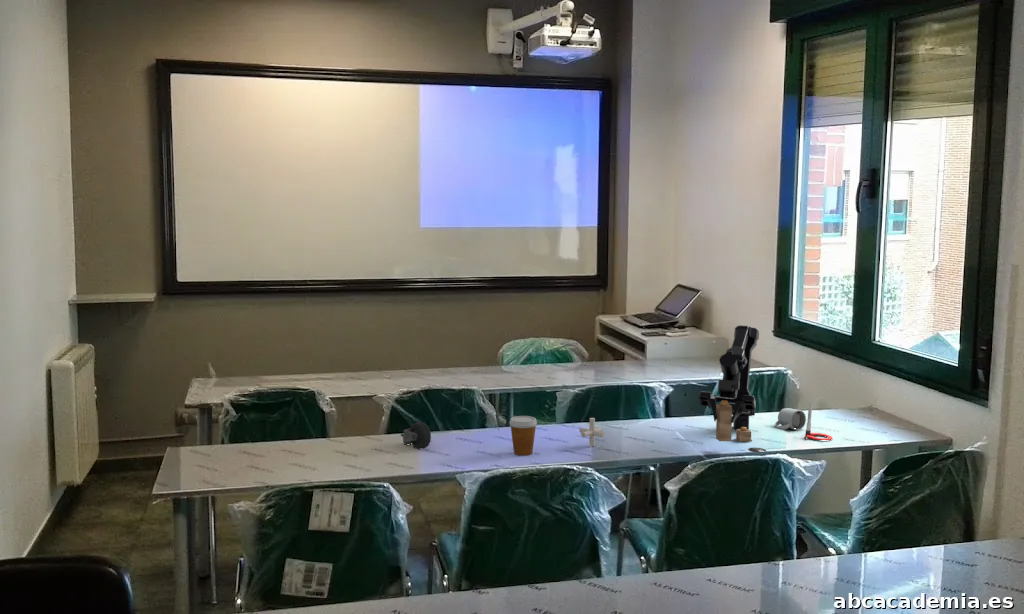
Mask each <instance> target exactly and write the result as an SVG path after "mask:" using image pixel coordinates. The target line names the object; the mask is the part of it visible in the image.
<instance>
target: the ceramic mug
mask: <svg viewBox="0 0 1024 614" xmlns="http://www.w3.org/2000/svg"><path fill="white" fill-rule="evenodd" d="M806 421H807V417H806V413H805V412H804V411H803V410H801V409H795V408H791V407H789V408H788V407H786V408H782V409H781V410H780V411H779V412H778V415H777V421H776V422H775V423H774V427H775V428H776V429H781V430H783V431H784V430H786V429H791V430H794V431H800V429H801V430H802V429H803V428H804V427H805V425H806V423H807V422H806ZM779 425H780V426H779ZM794 428H796V429H794Z"/></svg>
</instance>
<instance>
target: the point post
mask: <svg viewBox="0 0 1024 614" xmlns="http://www.w3.org/2000/svg"><path fill="white" fill-rule="evenodd" d="M716 404H717V415H716V421H715V423H716V425H715V426H716V427H715V439H716V440H718V441H719V442H732V428H733V423H731V420H732V415H733V414H732V406H731V405H729V403H728V401H727V400H722V402H721V403H716Z"/></svg>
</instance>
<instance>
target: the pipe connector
mask: <svg viewBox="0 0 1024 614" xmlns="http://www.w3.org/2000/svg"><path fill="white" fill-rule="evenodd" d="M595 426H596V418H595V417H590V418H589V428H585V427H579V433H581V434H580V436H581V437H582V438H587V437H589V439H588V440H589V445H590V446H596V445H595V444H596V442H595V440H596V439H595V438H596V437H600V438H605V436H606V433H605V432H604V431H603V430H604V429H603V427H601V426H599V427H595ZM590 446H589V447H590Z"/></svg>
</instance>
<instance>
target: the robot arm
mask: <svg viewBox="0 0 1024 614" xmlns="http://www.w3.org/2000/svg"><path fill="white" fill-rule="evenodd" d="M733 338H734V339H733V341H732V345H731V347H730V348H727V350H726V352H725V353H724V354H722V355H721V356H720V357H719V365H720V369H721V373H722V374H723V375H722V379H719V380H718V383H717V390H718V391H717V394H718V395H715V394H712V391H704V390H700V392H699V393H698V401H699V404H700V406H702V407H708V409H710V410H711V411H712V415H713V420H714V422H716V415H717V404H718V403H719V404H721V402H722V400H727V401H728V404H729V405H731V406H732V420H731V423H732V428H733V430H735V431H736V429H741V427H746V428H747V429H748V430H750V417H755V415H756V406H757V405H756V404H757V403H756V402H757V401H756V397H755V396H754V395H752V394H751V392H750V390H749V384H750V383H749V382H750V373H751V360H752V352H753V350H755V348H756V346H757V343H758V341H759V339H760V331H759V329H757V328H756V327H751V326H749V325H742V324H741V325H736V327H734V334H733Z"/></svg>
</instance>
